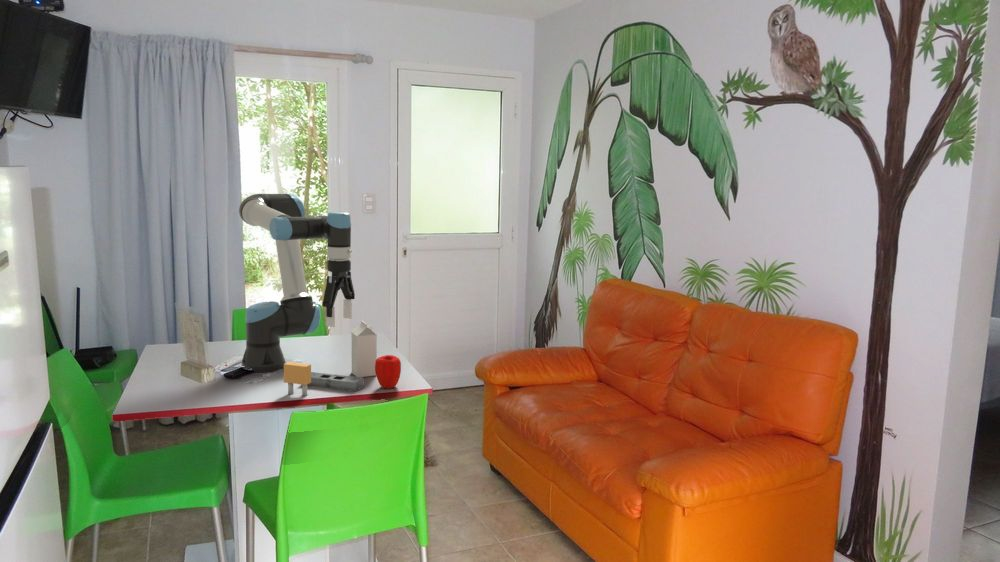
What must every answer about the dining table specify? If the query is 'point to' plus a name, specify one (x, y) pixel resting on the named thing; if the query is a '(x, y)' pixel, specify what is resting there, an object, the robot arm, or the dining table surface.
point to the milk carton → (364, 350)
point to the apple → (388, 370)
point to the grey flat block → (336, 381)
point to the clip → (297, 376)
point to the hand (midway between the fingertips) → (339, 322)
